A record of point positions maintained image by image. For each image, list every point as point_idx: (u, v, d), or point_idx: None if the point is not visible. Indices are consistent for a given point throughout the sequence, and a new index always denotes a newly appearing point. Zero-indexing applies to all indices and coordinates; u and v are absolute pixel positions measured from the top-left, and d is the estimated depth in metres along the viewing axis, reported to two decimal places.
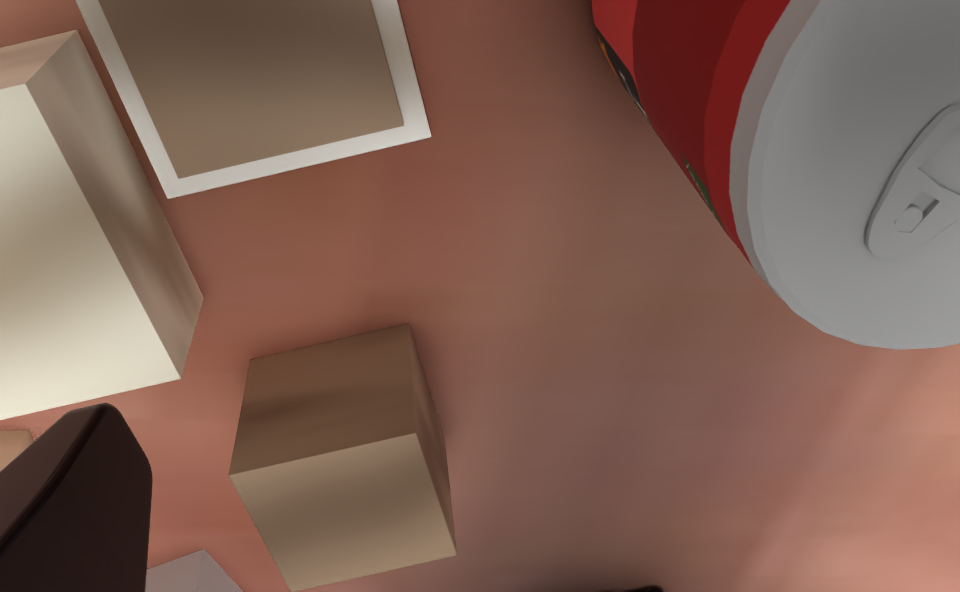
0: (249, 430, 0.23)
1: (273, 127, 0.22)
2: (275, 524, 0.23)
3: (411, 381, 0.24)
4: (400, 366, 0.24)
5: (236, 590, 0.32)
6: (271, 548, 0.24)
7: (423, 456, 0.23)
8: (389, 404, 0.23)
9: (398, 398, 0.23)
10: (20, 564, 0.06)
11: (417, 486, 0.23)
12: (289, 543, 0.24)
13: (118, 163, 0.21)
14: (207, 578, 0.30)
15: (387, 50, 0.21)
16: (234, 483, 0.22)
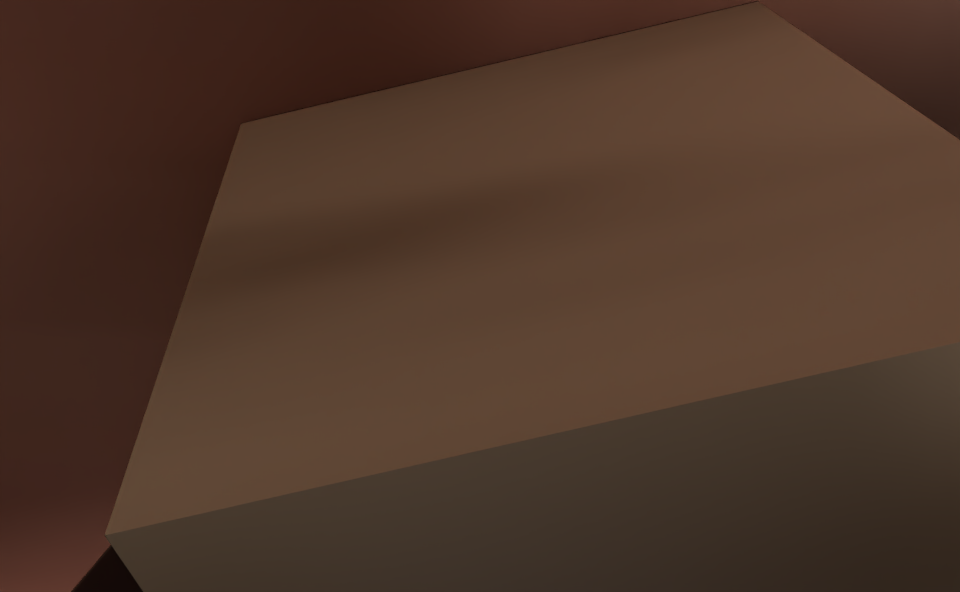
0: (229, 320, 0.05)
1: None
2: None
3: (921, 117, 0.06)
4: (825, 86, 0.06)
5: None
6: None
7: None
8: (879, 189, 0.05)
9: (914, 170, 0.05)
10: None
11: None
12: None
13: None
14: None
15: None
16: (141, 576, 0.04)
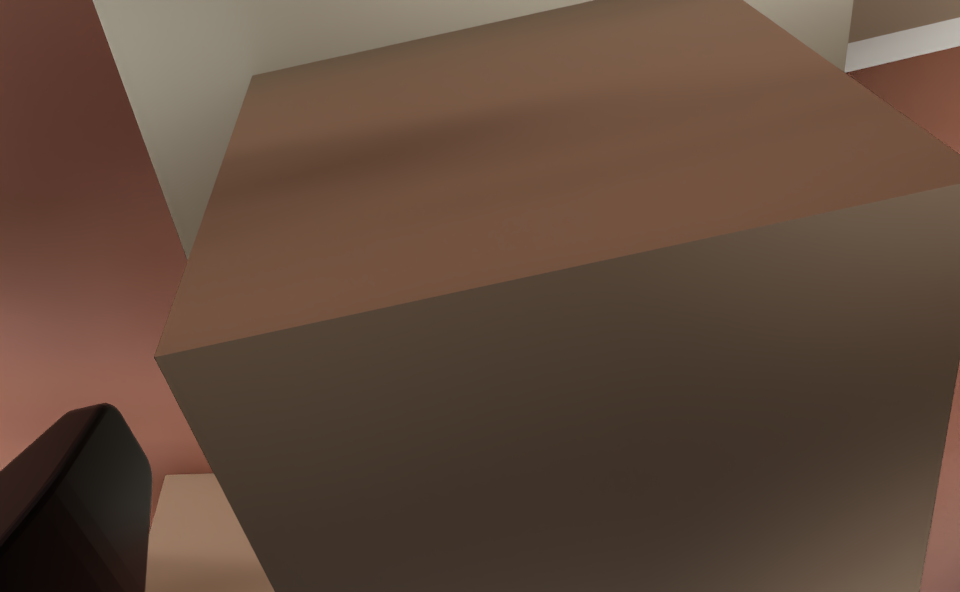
0: (247, 217, 0.06)
1: None
2: (340, 567, 0.06)
3: (825, 62, 0.07)
4: (752, 40, 0.07)
5: None
6: None
7: None
8: (781, 113, 0.06)
9: (810, 99, 0.06)
10: (20, 565, 0.06)
11: (891, 429, 0.06)
12: None
13: None
14: None
15: None
16: (180, 396, 0.05)
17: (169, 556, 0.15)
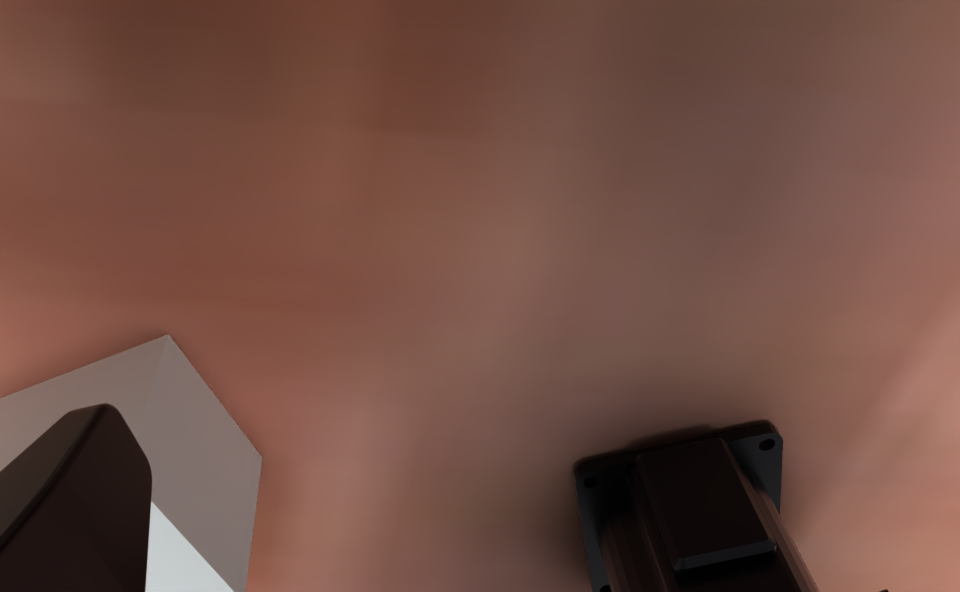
0: None
1: None
2: None
3: None
4: None
5: (213, 400, 0.23)
6: None
7: None
8: None
9: None
10: (22, 566, 0.06)
11: None
12: None
13: None
14: (171, 371, 0.21)
15: None
16: None
17: None
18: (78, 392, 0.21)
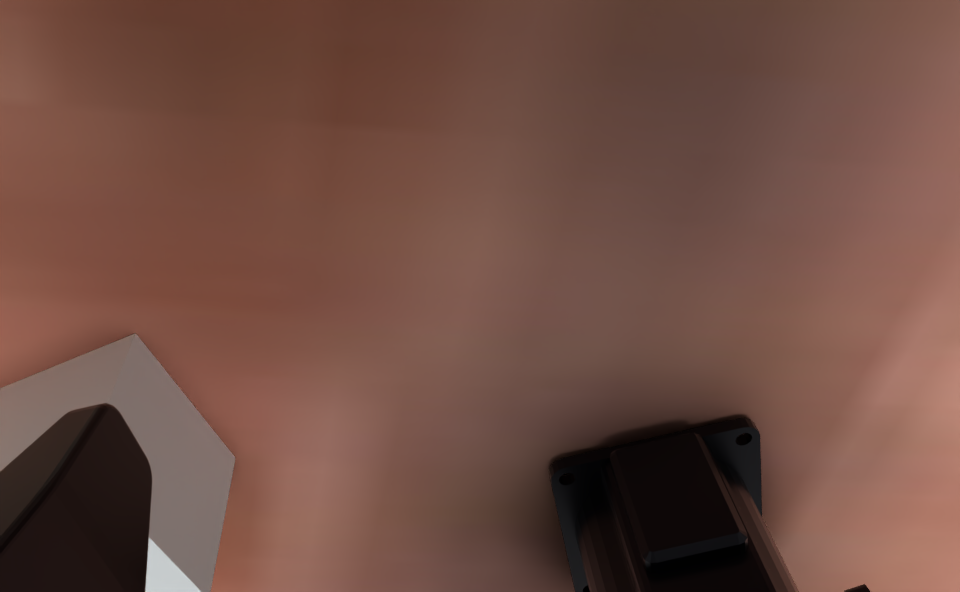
0: None
1: None
2: None
3: None
4: None
5: (182, 399, 0.23)
6: None
7: None
8: None
9: None
10: (20, 565, 0.06)
11: None
12: None
13: None
14: (138, 369, 0.22)
15: None
16: None
17: None
18: (45, 391, 0.22)
